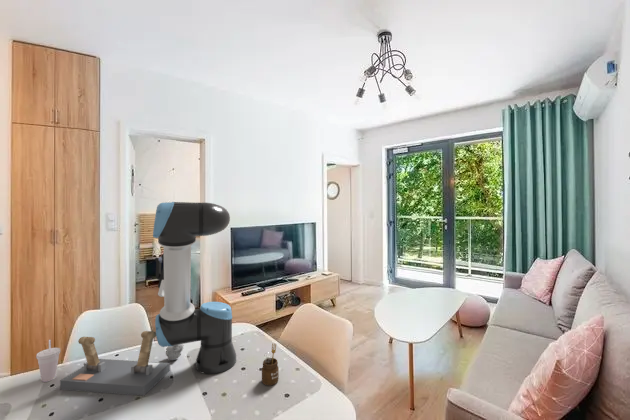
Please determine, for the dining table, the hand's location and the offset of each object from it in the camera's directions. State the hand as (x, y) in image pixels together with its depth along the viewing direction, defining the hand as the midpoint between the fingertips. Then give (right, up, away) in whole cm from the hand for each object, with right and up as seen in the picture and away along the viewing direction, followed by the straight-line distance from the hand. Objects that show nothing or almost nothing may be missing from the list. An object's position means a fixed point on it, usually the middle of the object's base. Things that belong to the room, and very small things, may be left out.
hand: (160, 295), depth 121 cm
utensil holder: (+50, -25, -20) cm, 59 cm away
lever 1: (-14, -21, -18) cm, 31 cm away
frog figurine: (+9, -24, -6) cm, 26 cm away
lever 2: (+4, -21, -21) cm, 30 cm away
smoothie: (-30, -24, -19) cm, 43 cm away
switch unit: (-5, -24, -19) cm, 31 cm away
